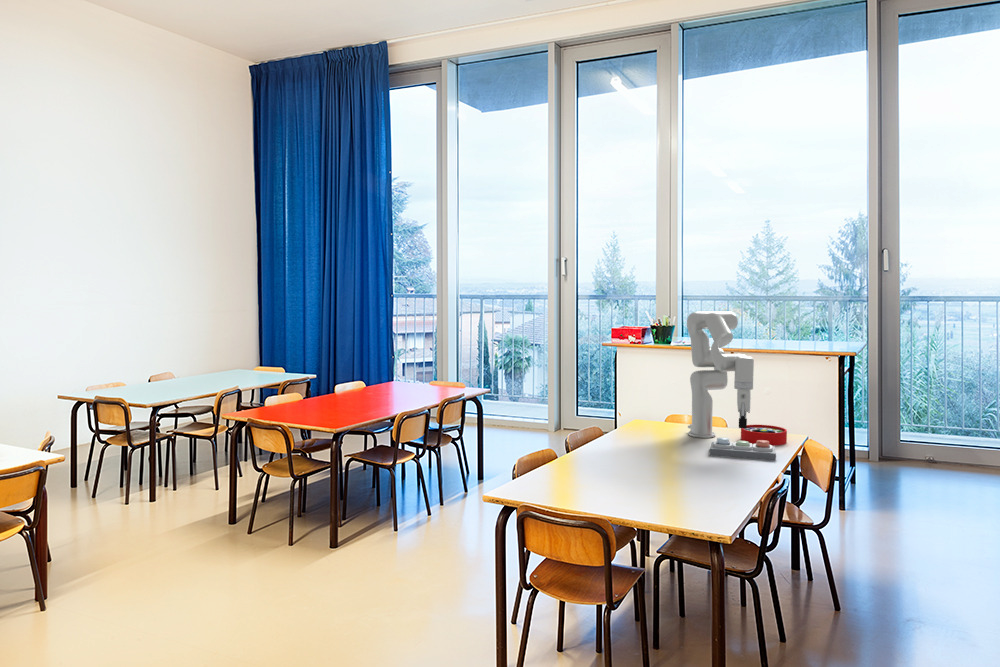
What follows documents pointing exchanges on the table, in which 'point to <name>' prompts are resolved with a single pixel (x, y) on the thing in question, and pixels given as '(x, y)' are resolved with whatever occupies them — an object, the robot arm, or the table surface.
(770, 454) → the console
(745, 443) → the sage button
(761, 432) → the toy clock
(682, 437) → the table surface
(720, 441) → the blue grey button
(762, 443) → the brick button
